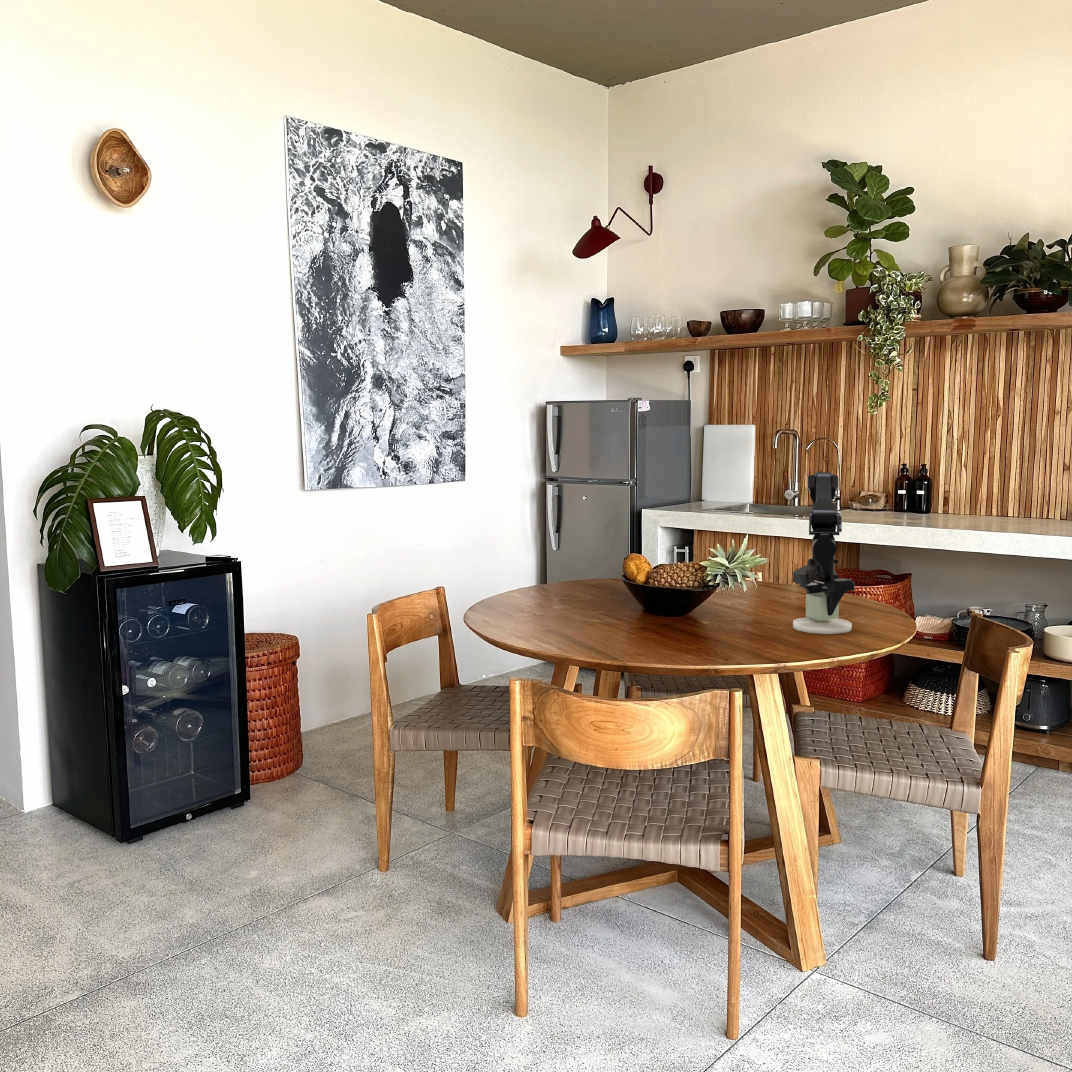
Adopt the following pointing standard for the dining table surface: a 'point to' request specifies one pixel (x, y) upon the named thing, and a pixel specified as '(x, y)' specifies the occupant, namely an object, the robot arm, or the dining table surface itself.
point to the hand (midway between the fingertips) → (822, 613)
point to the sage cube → (819, 607)
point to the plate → (822, 625)
